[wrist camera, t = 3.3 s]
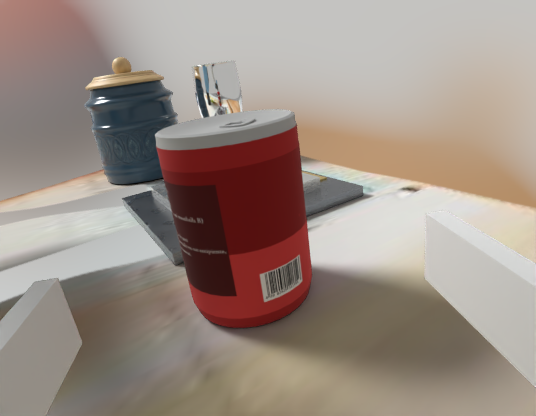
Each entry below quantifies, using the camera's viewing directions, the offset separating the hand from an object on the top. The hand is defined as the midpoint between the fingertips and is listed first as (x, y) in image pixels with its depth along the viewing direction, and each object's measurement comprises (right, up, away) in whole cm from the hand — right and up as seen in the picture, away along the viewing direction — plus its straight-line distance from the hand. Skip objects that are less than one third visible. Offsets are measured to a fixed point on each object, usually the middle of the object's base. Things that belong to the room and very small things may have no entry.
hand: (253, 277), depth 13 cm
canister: (-19, +8, +48) cm, 52 cm away
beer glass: (-6, +10, +48) cm, 49 cm away
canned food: (0, -3, +11) cm, 11 cm away
